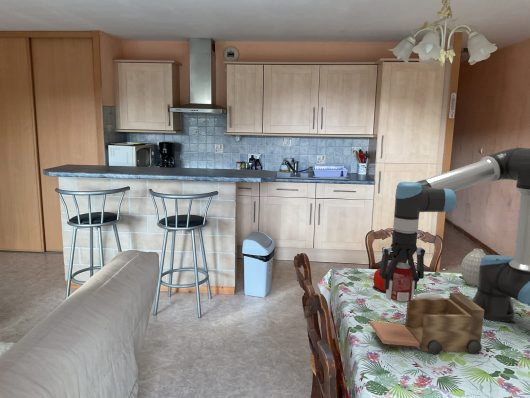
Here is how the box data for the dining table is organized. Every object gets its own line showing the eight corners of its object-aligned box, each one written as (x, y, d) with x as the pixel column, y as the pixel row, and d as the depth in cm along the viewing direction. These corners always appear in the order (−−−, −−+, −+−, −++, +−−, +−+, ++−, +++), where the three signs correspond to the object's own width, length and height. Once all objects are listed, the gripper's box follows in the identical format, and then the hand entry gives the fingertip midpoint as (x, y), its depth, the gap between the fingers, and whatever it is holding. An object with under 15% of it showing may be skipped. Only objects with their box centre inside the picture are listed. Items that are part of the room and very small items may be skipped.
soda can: (411, 305, 133) (414, 269, 131) (389, 302, 134) (392, 267, 132) (408, 297, 139) (411, 262, 137) (387, 294, 141) (390, 260, 139)
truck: (454, 328, 149) (458, 291, 147) (482, 353, 132) (487, 312, 130) (402, 328, 148) (406, 291, 146) (424, 354, 131) (428, 312, 128)
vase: (455, 278, 201) (459, 244, 198) (483, 280, 200) (487, 246, 197) (464, 288, 189) (468, 252, 186) (494, 290, 187) (499, 254, 184)
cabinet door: (403, 324, 145) (370, 321, 144) (419, 343, 132) (383, 339, 131) (402, 328, 145) (369, 325, 144) (418, 347, 133) (382, 344, 132)
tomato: (384, 295, 177) (386, 275, 176) (367, 285, 188) (368, 266, 187) (404, 292, 182) (406, 272, 180) (386, 282, 192) (387, 264, 191)
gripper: (429, 228, 137) (423, 294, 141) (371, 227, 136) (366, 294, 140) (440, 233, 130) (433, 303, 134) (379, 233, 128) (373, 303, 132)
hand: (399, 298), depth 137 cm, fingers closed on soda can, 7 cm apart
